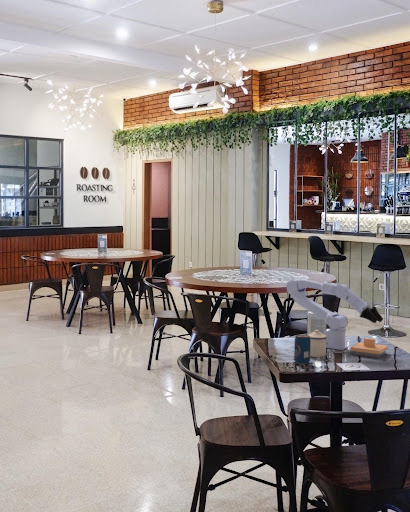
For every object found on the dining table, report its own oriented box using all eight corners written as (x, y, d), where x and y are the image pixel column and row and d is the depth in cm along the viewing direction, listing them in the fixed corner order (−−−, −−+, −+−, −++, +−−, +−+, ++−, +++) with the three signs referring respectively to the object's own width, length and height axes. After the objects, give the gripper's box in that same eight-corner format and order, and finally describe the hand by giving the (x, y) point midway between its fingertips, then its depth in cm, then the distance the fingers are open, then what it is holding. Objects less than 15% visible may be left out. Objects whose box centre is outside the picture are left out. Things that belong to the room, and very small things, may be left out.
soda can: (291, 361, 282) (291, 334, 281) (305, 360, 285) (305, 333, 284) (298, 365, 276) (299, 337, 275) (313, 364, 278) (313, 336, 277)
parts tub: (352, 354, 297) (352, 348, 297) (360, 350, 307) (361, 343, 307) (378, 358, 290) (378, 351, 290) (385, 353, 301) (386, 347, 300)
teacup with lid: (326, 353, 298) (327, 328, 298) (325, 358, 290) (326, 332, 289) (300, 351, 301) (301, 327, 301) (298, 356, 293) (299, 330, 292)
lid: (350, 350, 296) (350, 339, 296) (359, 345, 308) (360, 334, 308) (379, 354, 289) (379, 343, 289) (388, 349, 301) (388, 338, 300)
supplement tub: (329, 341, 326) (330, 312, 325) (316, 343, 321) (316, 314, 320) (316, 338, 334) (317, 310, 333) (303, 339, 329) (303, 311, 328)
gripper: (355, 296, 297) (378, 315, 290) (366, 295, 309) (389, 313, 302) (347, 308, 299) (369, 327, 292) (358, 307, 311) (380, 325, 304)
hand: (379, 321), depth 298 cm, fingers open, 7 cm apart
